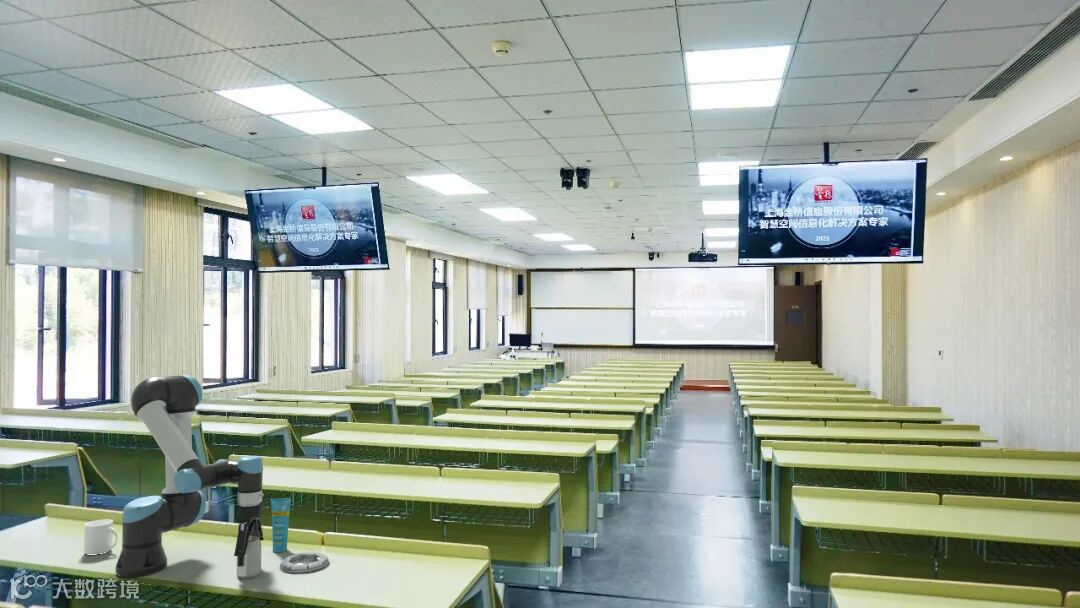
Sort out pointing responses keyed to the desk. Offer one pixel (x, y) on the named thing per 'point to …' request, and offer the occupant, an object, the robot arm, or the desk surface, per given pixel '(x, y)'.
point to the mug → (99, 536)
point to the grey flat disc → (304, 563)
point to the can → (253, 557)
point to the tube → (280, 523)
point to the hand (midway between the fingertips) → (249, 568)
